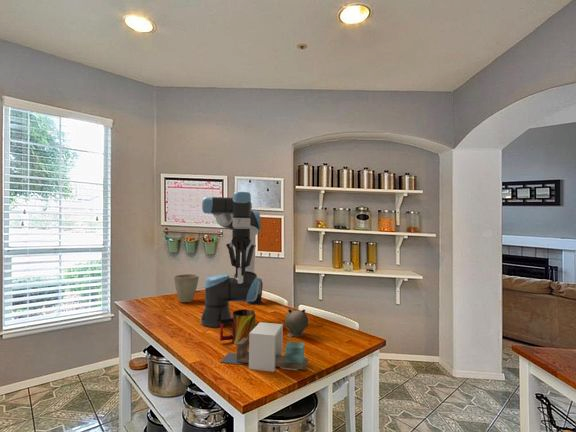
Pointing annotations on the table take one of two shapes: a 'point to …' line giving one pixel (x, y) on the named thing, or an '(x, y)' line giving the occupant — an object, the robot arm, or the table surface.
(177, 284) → the plant pot
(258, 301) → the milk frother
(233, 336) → the mug
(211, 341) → the table surface
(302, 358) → the sled
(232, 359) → the pit pad
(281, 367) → the pad
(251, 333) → the upright grey pillar
